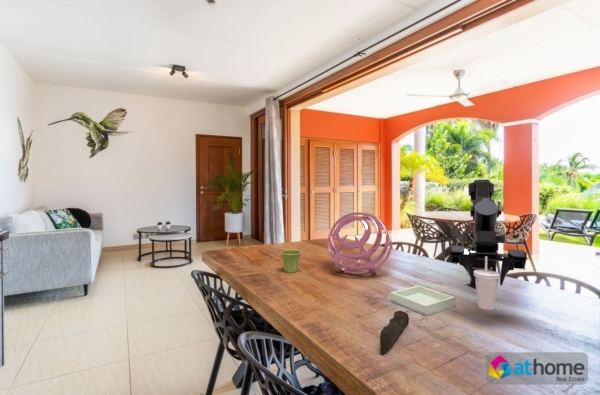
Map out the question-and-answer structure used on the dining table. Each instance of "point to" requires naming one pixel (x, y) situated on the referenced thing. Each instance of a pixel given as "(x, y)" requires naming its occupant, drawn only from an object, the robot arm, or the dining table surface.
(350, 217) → the pink openwork sphere
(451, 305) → the sage tray
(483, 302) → the smoothie
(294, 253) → the plant pot
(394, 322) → the hand tool
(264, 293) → the dining table surface
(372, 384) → the dining table surface
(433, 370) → the dining table surface
